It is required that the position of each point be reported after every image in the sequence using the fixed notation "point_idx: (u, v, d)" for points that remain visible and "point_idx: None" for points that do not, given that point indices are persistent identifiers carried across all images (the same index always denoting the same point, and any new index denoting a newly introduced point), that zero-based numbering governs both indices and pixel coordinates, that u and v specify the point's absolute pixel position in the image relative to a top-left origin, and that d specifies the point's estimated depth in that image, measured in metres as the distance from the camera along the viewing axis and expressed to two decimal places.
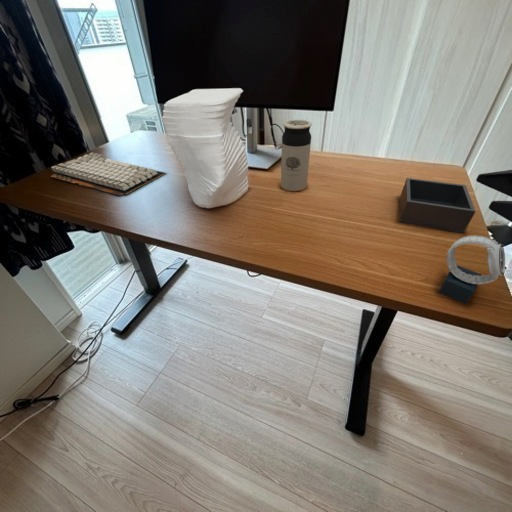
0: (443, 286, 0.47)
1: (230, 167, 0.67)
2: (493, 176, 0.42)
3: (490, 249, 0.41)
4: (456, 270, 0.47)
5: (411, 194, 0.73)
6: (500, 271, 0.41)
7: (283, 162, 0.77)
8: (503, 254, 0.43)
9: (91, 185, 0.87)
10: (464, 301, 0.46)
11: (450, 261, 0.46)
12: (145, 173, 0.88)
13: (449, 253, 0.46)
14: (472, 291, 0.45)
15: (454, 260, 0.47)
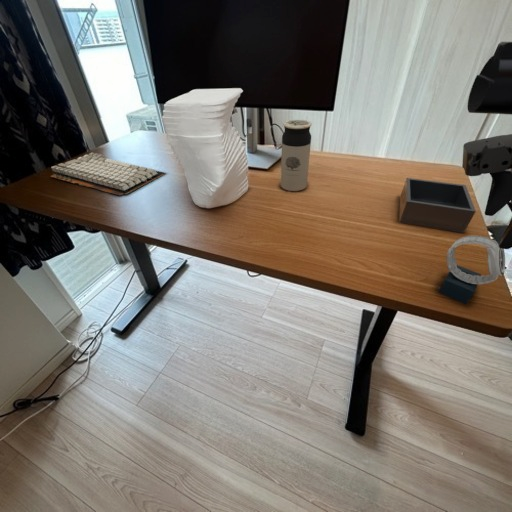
0: (443, 286, 0.47)
1: (230, 167, 0.67)
2: (491, 204, 0.43)
3: (490, 249, 0.41)
4: (456, 270, 0.47)
5: (411, 194, 0.73)
6: (500, 271, 0.41)
7: (283, 162, 0.77)
8: (503, 254, 0.43)
9: (91, 185, 0.87)
10: (464, 301, 0.46)
11: (450, 261, 0.46)
12: (145, 173, 0.88)
13: (449, 253, 0.46)
14: (472, 291, 0.45)
15: (454, 260, 0.47)
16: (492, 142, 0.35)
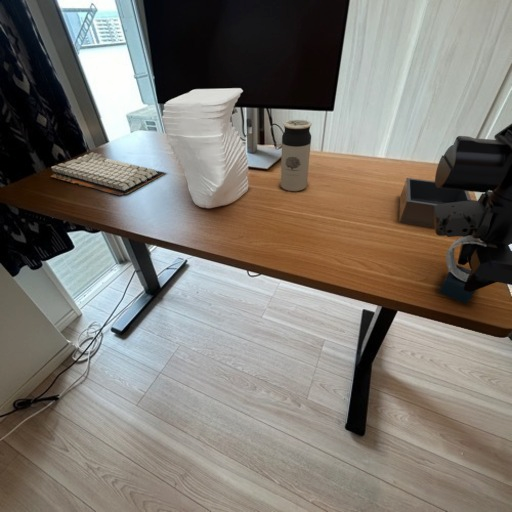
0: (443, 286, 0.47)
1: (230, 167, 0.67)
2: (462, 256, 0.48)
3: None
4: (456, 270, 0.47)
5: (411, 194, 0.73)
6: None
7: (283, 162, 0.77)
8: None
9: (91, 185, 0.87)
10: (465, 301, 0.46)
11: (450, 261, 0.46)
12: (145, 173, 0.88)
13: (448, 253, 0.46)
14: (472, 291, 0.45)
15: (453, 260, 0.47)
16: (457, 208, 0.41)
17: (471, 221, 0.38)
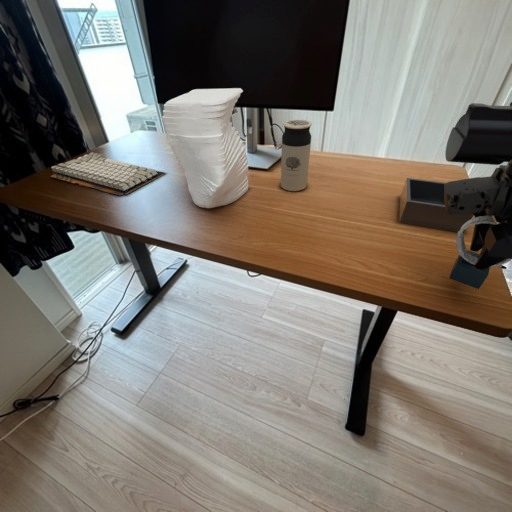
0: (454, 271, 0.45)
1: (230, 167, 0.67)
2: (475, 241, 0.45)
3: None
4: (466, 254, 0.45)
5: (411, 194, 0.73)
6: None
7: (283, 162, 0.77)
8: None
9: (91, 185, 0.87)
10: (477, 286, 0.44)
11: (460, 244, 0.44)
12: (145, 173, 0.88)
13: (459, 236, 0.44)
14: (485, 274, 0.42)
15: (463, 244, 0.45)
16: (469, 184, 0.38)
17: (485, 196, 0.36)
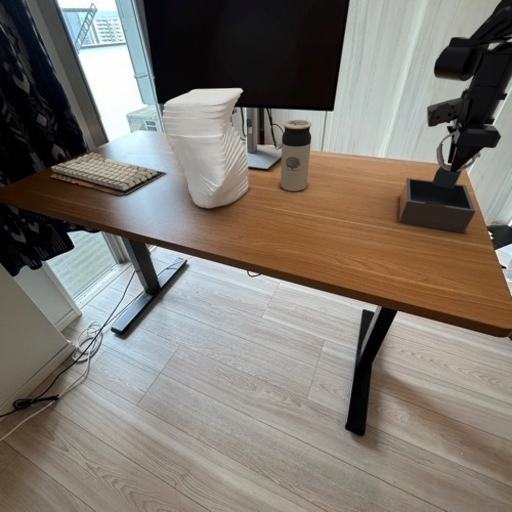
0: (435, 177, 0.60)
1: (230, 167, 0.67)
2: (451, 155, 0.60)
3: None
4: (444, 165, 0.60)
5: (411, 194, 0.73)
6: None
7: (283, 162, 0.77)
8: None
9: (91, 185, 0.87)
10: (452, 186, 0.59)
11: (439, 155, 0.59)
12: (145, 173, 0.88)
13: (438, 148, 0.59)
14: (457, 175, 0.58)
15: (442, 156, 0.60)
16: (444, 103, 0.54)
17: (454, 108, 0.51)
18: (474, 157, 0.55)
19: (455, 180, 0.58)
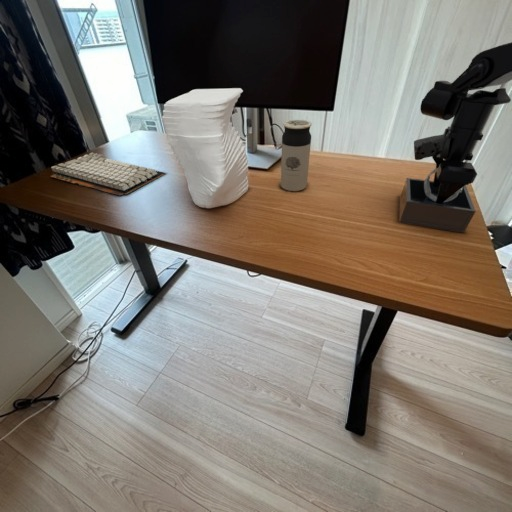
0: None
1: (230, 167, 0.67)
2: (435, 179, 0.67)
3: None
4: (430, 195, 0.66)
5: (411, 194, 0.73)
6: None
7: (283, 162, 0.77)
8: None
9: (91, 185, 0.87)
10: None
11: (426, 187, 0.65)
12: (145, 173, 0.88)
13: (425, 181, 0.64)
14: None
15: (429, 187, 0.66)
16: (428, 140, 0.59)
17: (437, 145, 0.57)
18: (457, 192, 0.61)
19: None
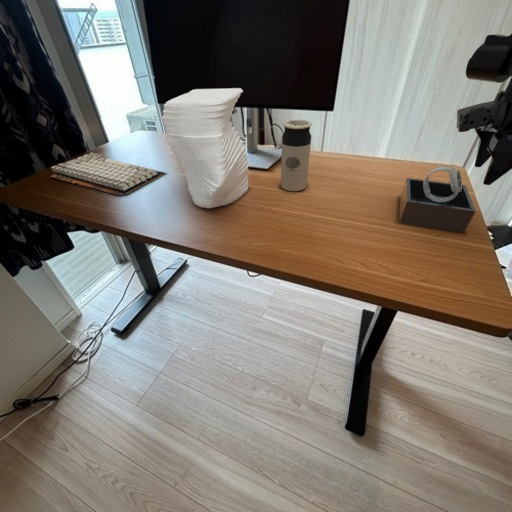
0: None
1: (230, 167, 0.67)
2: (478, 158, 0.57)
3: (451, 172, 0.60)
4: (430, 195, 0.66)
5: (411, 194, 0.73)
6: (458, 187, 0.60)
7: (283, 162, 0.77)
8: (460, 178, 0.62)
9: (91, 185, 0.87)
10: None
11: (425, 187, 0.65)
12: (145, 173, 0.88)
13: (424, 181, 0.65)
14: None
15: (428, 188, 0.66)
16: (477, 107, 0.49)
17: (490, 112, 0.47)
18: (456, 192, 0.61)
19: None
